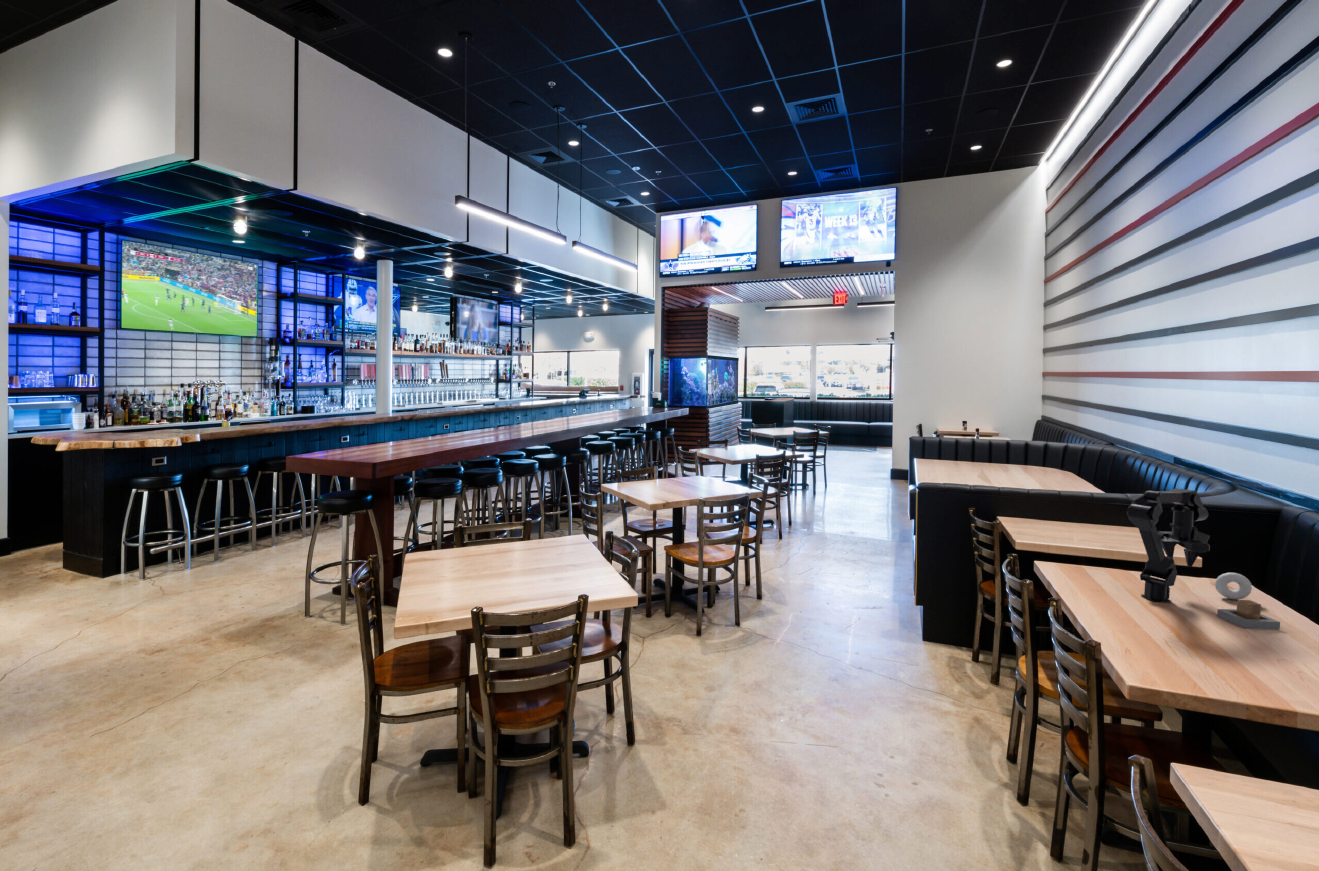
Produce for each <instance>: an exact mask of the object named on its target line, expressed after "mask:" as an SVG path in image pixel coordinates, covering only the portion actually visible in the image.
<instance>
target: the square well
mask: <svg viewBox="0 0 1319 871" xmlns="http://www.w3.org/2000/svg"><path fill="white" fill-rule="evenodd" d="M1236 612H1237V608H1235V609H1234V608H1233V609H1232V608H1230V609H1228V608H1217V613H1216V616H1217V617H1219V618H1221V619H1223V620H1225V621H1227V622H1230V623H1232V624H1234V625H1237V627H1238V626H1239V627H1240V628H1242V629H1245V630H1246V629H1249V630H1250V629H1252V630H1253V629H1254V630H1281V621H1278V620H1277V619H1274V618H1272V617H1269V616H1267V615H1265V614H1262V613H1260V619H1245V618H1243V617H1240V616H1238V615H1236Z"/></svg>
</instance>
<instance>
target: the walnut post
mask: <svg viewBox="0 0 1319 871" xmlns="http://www.w3.org/2000/svg"><path fill="white" fill-rule="evenodd" d="M1236 602H1237V603H1236V609H1237V612H1236V615H1238V616H1240V617H1243V618H1245V619H1260V614H1262V613H1261V612H1262V604H1261V603H1258V602H1255V601H1253V600H1249V599H1247V600H1246V599H1239V600H1237V601H1236Z"/></svg>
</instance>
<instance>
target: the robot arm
mask: <svg viewBox="0 0 1319 871" xmlns="http://www.w3.org/2000/svg"><path fill="white" fill-rule="evenodd" d="M1148 502H1150V503H1157V505H1156V506H1155V507H1154V506H1149V505H1146V504H1148ZM1163 503H1172V504H1175V505H1174V506H1172V507H1171V509H1170V511H1172V512H1173V514H1172V515H1173V516H1172V523H1169V528H1170V527H1171V528H1172V529H1171V531H1167V530H1165V531H1160V530H1159V531H1158V530H1157V526H1156V524H1157V523H1158V521H1159V520H1160V516H1161V515H1162V513H1163V512H1164V510H1163V506H1162V504H1163ZM1126 515H1127V517H1128V519H1129V521H1130V523H1131V524H1133V525H1134V526H1135V527H1136V528H1137V529H1138V531H1139V534H1140V536H1141V541H1142V544H1143V545H1144V546H1143V547H1144V549H1145V552H1146V555H1147V559H1148V560H1147V561H1146V562H1145V564H1144V565H1145V567H1144V568H1143V570H1142V571H1141V573H1140V574H1139V578H1140V581H1143V582H1144V594H1140V596H1141V597H1142V598H1145V599H1147V600H1148V601H1151V602H1154V603H1155V602H1156V603H1157V602H1158V603H1172V600H1171V599H1170V596H1171V594H1170V592H1171V591H1170V590H1171V588H1170V587H1172V586H1174V585H1175V583H1176V579H1177V575H1178V571H1177V565H1176V563H1175V559H1174V553H1175V547H1176V546H1177V545H1178V543H1179V544H1183V546H1184V548H1183V553H1184V558H1185V562H1186V565H1187V567H1188V568H1192V567H1193V565H1194V563H1195V562H1196V560H1197V558H1198V557H1199V556H1200V555H1201V554H1202V553H1206V552H1210V550H1211V549H1210V548H1211V546H1210V544H1209V543H1208V541H1209V539H1210V536H1211V535H1209V534H1206V533H1203V532H1201V531H1198V528H1197V527H1196V526H1194V522H1199V521H1204V520H1207V518H1208V517H1209V512H1208V510H1207V508H1205V507H1204V504H1203V502H1202V499H1201V497H1200V494H1198V491H1196V490H1193V489H1186V488H1184V489H1183V488H1172V489H1170V490H1169V491H1167V490H1166V491H1164V490H1162V491H1161V490H1160V491H1159V490H1157V491H1155V490H1146V491H1144V493H1143V494H1142V495H1141V496H1139V497H1137V498H1135V499H1133V500H1132V501H1131V502H1130V504H1129V505H1128V507H1127V509H1126Z"/></svg>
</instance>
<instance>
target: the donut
mask: <svg viewBox="0 0 1319 871" xmlns="http://www.w3.org/2000/svg"><path fill="white" fill-rule="evenodd" d="M1229 583H1236V584H1237V585H1238V589H1234V590H1233V589H1230V588H1229V587H1228V585H1229ZM1214 586H1215V590H1216V591H1217V592H1218V593H1219V594H1220V595H1221V596H1222V597H1223V598H1226V599H1229V600H1244V599H1245V598H1247V597H1249V595H1250V594H1251V593H1252V590H1253V588H1252V583H1251V581H1250V580H1249V579H1248V578H1247V577H1246V576H1244V575H1243V574H1241V573H1237V572H1226V573H1222V574H1220V575H1218V576H1217V578H1216V579H1215V582H1214Z"/></svg>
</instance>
